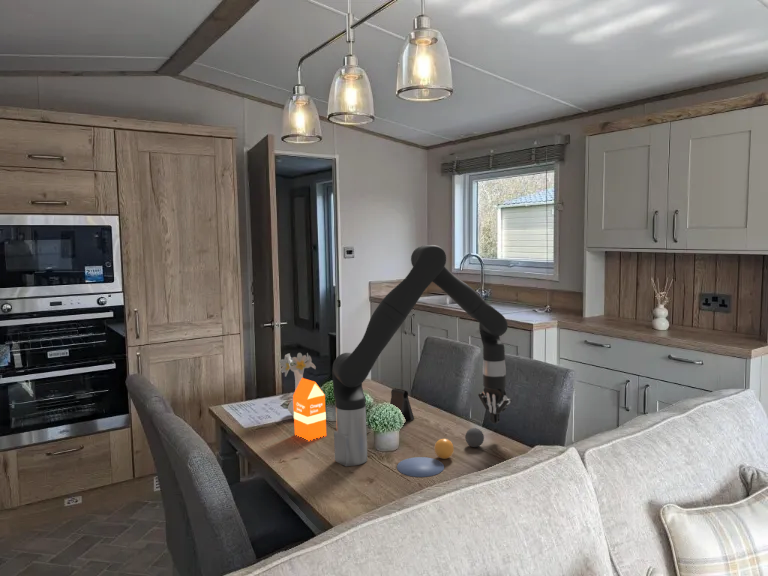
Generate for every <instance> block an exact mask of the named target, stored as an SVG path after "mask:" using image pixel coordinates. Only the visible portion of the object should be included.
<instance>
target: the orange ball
mask: <svg viewBox="0 0 768 576" xmlns="http://www.w3.org/2000/svg"><path fill="white" fill-rule="evenodd" d="M433 450H434V453H435V454H436V456H437V457H438V458H439V459H443V460H446V459H449V458H451V457H452V456H453V454H454V451H455V448H454V444H453V442H452V441H451V440H450V439H448V438H440V439H438V440H437V441H436V442H435V444H434V448H433Z"/></svg>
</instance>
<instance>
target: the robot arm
mask: <svg viewBox="0 0 768 576" xmlns="http://www.w3.org/2000/svg"><path fill="white" fill-rule="evenodd" d="M410 262H411V266H412V268H411V269H410V271H409V272H408V274H407V275H406V276H405V278H404V279H403V280H402V281H401V282H399V283H398V284H397V285H396V286H394V287H393V289H392V290H390V291H389V292H388V293H387V294H386V295H385V297H384V298H383V299H382V300H381V302H380V303H379V304H378V306H377V307H376V308H375V309H374V311H373V313H372V315H371V317H370V319H369V321H368V324H367V326H366V329H365V333H364V335H363V337H362V339H361V340H360V342H359V343H358V344H357V346H356V347H355V348H354V349H353V351H352V352H343V353H341V354H339V355H338V356H336V358H335V360H333V364H332V371H331V373H332V374H331V375H332V387H333V388H332V389H333V390H332V391H333V396H334V397H333V398H334V400H335V401H334V402H335V419H336V420H335V423H336V425H335V427H336V430H334V431H333V441H334V443H333V445H334V461H335V462H337V463H338V464H340V465H342V466H345V467H350V466H359V465H363V464H365V463H366V462H367V461H368V438H367V437H368V436H367V408H366V404H367V403H366V395H365V393H364V390H363V383H364V382H365V380H366V379H367V377H368V376H369V374H370V372H371V371H372V369H373V367H374V365H375V363H376V361H377V360H378V358H379V356H380V355H381V354H382V352H383V350H384V349H385V348H386V346H388V344H389V342H390V341H391V340H392V338H393V337H394V335H395V334H396V333H397V332H398V330H399V329H400V328H401V326H402V324H403V323H404V322H405V320H406V319H407V318H408V316H409V314H410V313H411V311H412V310H413V309H414V307H415V306H416V304H417V303H418V301H419V299H420V298H421V297H422V295H423V293H424V292H425V291H426V289H427V288H428V287H429V286H430V285H431V284H432V283H433V284H435V285H436V286H437V287H438V288H440V289H441V290H442V291H443V292H444V293H445V294H447V295H448V297H450V298H451V299H452V300H453V301H454V302H455V303H456V304H457V305H458V306H459V307H460V308H461V309H462V311H464V312H465V313H466V314H467V315H468V316H470V317H471V318H473V319H475V320H476V321H477V322H478V323H479V324H478V326H479V334H480V340H481V344H482V354H483V356H482V358H483V360H482V361H483V362H482V386H483V389H482V390H483V391H482V392H480V393H478V394H477V395H478V398H479V399H480V401H481V403H482V405H483V407H484V409H485V410H486V411H487V410H488V411H489V413H490V414H489V415H490V422H491V424H493V425H497V424H499V423H500V421H501V413H505V412H506V410H507V408H508V407H510V405H511V403H512V402H513V401H512V398H508V396H507V392H506V386H507V371H506V370H507V369H506V368H507V366H506V360H505V359H506V353H505V351H506V350H505V344H504V343H503V342H502V341H501V337H500V336H502V335H504V334H506V332H507V330H508V327H509V325H508V321H507V319H506V317H505V316H504V315H503V314H502V313H501V312H499V311H498V310H497V309H495V307H493V306H492V305H490V304H489V303H488V302H487V301H486V300H485V299H484V298H483V297H482V296H481V295H480V294H479V293H478V292H477V291H476V290H475V289H473V287H471V286H470V285H469V284H467V283H466V282H464V281H463V280H461V279H460V278H458V276H456V275H455V274H453V273H452V272H451V271H450V270H449V269H448V268H447V267H446V263H447V255H446V252H445V250H444V249H443V248H442V247H440V246H439V245H435V244H431V245H430V244H428V245H426V244H425V245H422V246H418V247H417V248H415V249H414V250H413V252H412V253H411V256H410Z"/></svg>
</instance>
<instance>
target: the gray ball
mask: <svg viewBox="0 0 768 576" xmlns="http://www.w3.org/2000/svg"><path fill="white" fill-rule="evenodd" d="M484 436H485V435H484V432H483V431H482V430H481V429H479V428H477V427H471V428H469V429H468V430H467V431H466V433H465V437H464V438H465V443H467V445H468V446H470V447H472V448H478V447H480V446H481V445H482V444H483V443H484V441H485V437H484Z"/></svg>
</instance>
